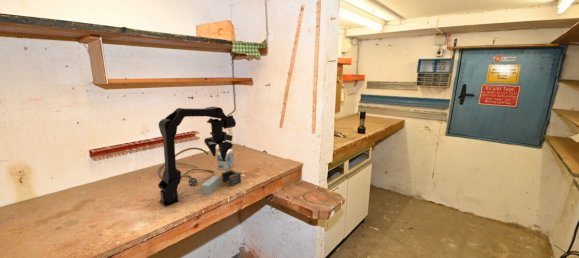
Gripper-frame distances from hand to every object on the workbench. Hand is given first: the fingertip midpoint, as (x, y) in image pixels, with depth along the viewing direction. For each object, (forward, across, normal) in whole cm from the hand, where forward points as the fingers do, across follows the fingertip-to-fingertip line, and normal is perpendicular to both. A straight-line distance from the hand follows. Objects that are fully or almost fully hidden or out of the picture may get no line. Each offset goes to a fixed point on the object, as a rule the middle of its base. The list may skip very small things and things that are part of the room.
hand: (219, 158), depth 140 cm
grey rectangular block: (+15, -3, +7) cm, 17 cm away
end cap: (+15, -4, -4) cm, 16 cm away
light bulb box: (+15, +18, -16) cm, 28 cm away
